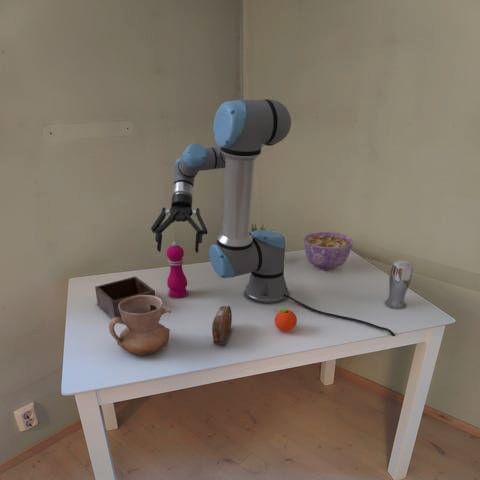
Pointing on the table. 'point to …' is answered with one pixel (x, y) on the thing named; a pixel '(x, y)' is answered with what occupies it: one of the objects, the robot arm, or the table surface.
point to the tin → (222, 325)
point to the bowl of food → (327, 249)
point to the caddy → (121, 294)
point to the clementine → (285, 320)
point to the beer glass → (399, 283)
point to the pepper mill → (176, 272)
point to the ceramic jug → (141, 325)
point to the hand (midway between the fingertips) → (177, 250)
